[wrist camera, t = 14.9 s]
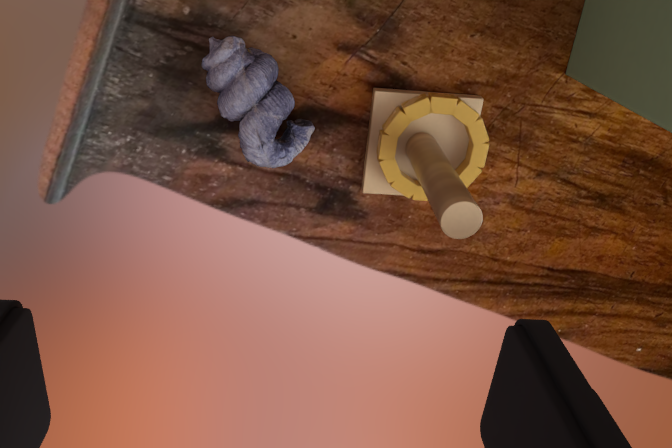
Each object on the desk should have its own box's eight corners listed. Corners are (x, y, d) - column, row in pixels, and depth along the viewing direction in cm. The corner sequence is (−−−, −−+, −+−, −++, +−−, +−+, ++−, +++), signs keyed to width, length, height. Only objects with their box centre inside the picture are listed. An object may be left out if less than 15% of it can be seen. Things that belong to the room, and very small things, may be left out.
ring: (386, 88, 41) (388, 92, 39) (494, 98, 41) (499, 103, 40) (370, 190, 44) (372, 197, 43) (470, 198, 45) (475, 204, 44)
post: (373, 87, 41) (401, 149, 30) (479, 95, 42) (548, 158, 31) (361, 188, 45) (382, 277, 34) (459, 193, 46) (513, 283, 34)
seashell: (302, 140, 44) (220, 28, 40) (340, 132, 40) (252, 6, 36) (255, 184, 42) (164, 71, 38) (289, 182, 38) (190, 53, 34)
